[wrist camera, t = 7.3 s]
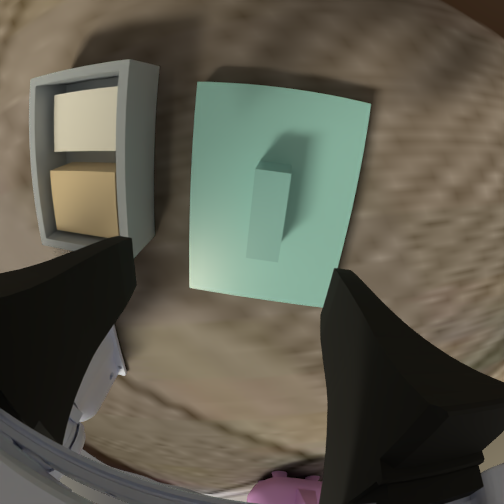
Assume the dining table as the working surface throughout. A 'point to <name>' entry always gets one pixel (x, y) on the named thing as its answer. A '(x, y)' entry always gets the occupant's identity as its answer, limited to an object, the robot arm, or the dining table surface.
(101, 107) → the box
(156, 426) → the dining table surface
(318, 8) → the dining table surface
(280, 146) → the lid
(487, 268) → the dining table surface
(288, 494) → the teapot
